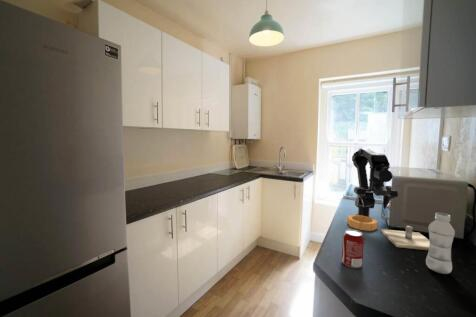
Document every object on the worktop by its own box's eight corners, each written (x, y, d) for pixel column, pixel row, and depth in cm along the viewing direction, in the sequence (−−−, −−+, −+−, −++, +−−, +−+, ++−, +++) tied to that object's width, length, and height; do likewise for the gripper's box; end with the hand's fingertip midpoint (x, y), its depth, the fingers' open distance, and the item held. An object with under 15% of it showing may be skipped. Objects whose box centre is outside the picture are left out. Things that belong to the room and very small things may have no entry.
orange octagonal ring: (345, 220, 123) (345, 214, 123) (370, 222, 120) (371, 216, 120) (351, 229, 110) (352, 222, 110) (380, 231, 107) (380, 224, 107)
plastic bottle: (450, 279, 71) (455, 219, 69) (423, 269, 76) (427, 213, 74) (452, 272, 75) (458, 215, 73) (427, 263, 80) (431, 210, 78)
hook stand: (381, 231, 108) (381, 218, 107) (418, 235, 104) (419, 222, 103) (396, 246, 92) (397, 232, 92) (441, 251, 89) (442, 236, 88)
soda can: (365, 271, 75) (367, 237, 74) (344, 268, 76) (345, 235, 75) (358, 260, 82) (360, 229, 81) (339, 258, 83) (340, 227, 82)
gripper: (361, 180, 106) (359, 211, 108) (405, 182, 102) (402, 214, 103) (354, 176, 117) (352, 204, 118) (394, 178, 113) (392, 207, 114)
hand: (374, 208), depth 113 cm, fingers open, 9 cm apart
